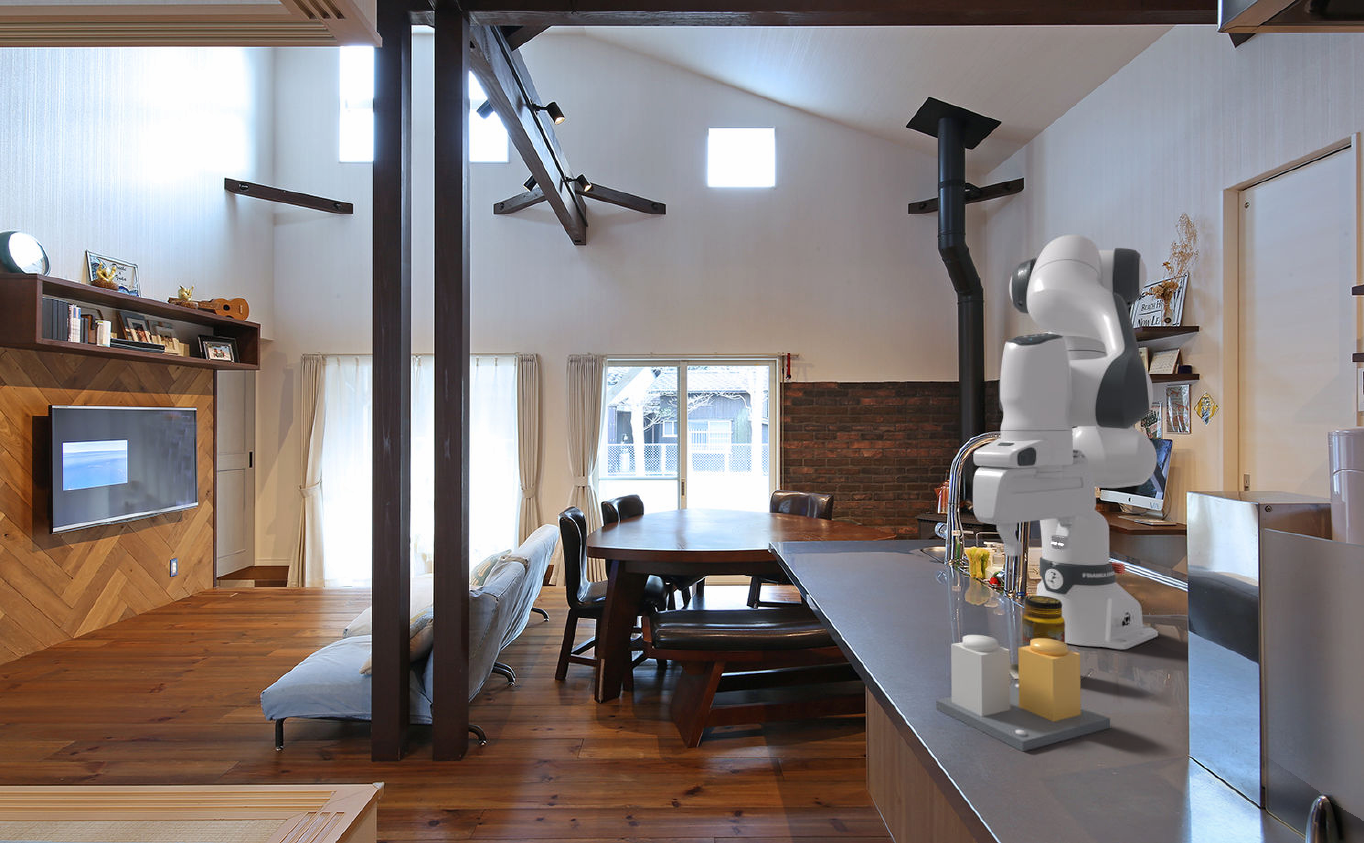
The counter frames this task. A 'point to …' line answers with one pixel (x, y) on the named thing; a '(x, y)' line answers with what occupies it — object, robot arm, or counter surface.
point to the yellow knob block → (1049, 679)
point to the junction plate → (1026, 723)
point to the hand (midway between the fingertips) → (1037, 552)
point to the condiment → (1040, 623)
